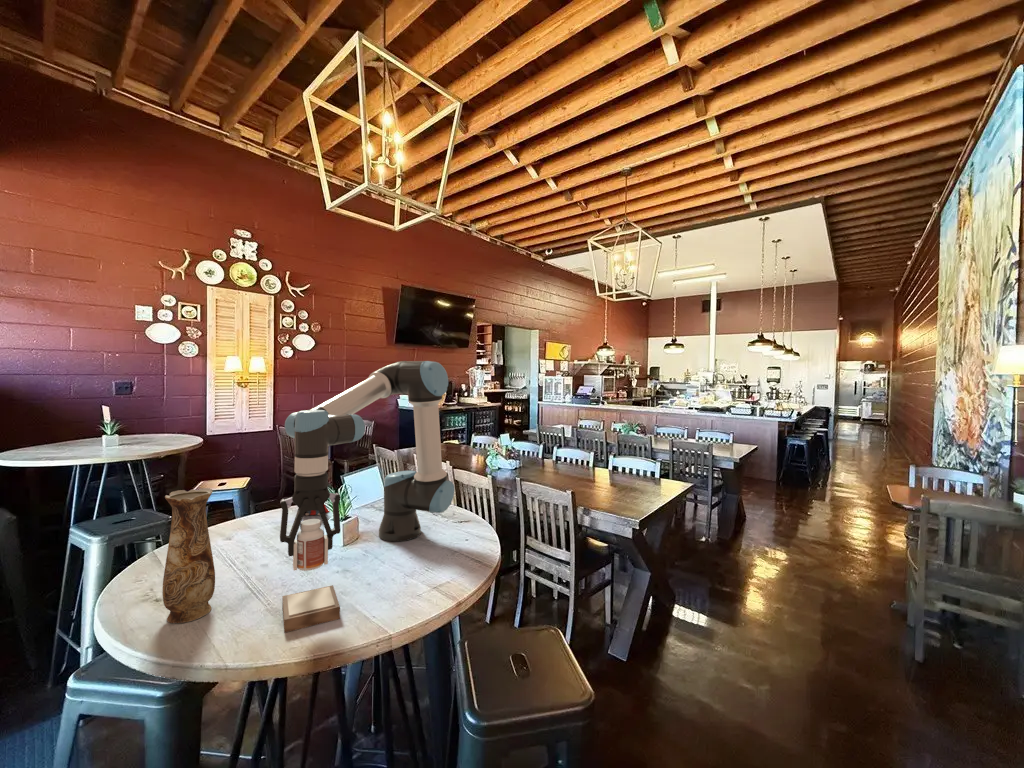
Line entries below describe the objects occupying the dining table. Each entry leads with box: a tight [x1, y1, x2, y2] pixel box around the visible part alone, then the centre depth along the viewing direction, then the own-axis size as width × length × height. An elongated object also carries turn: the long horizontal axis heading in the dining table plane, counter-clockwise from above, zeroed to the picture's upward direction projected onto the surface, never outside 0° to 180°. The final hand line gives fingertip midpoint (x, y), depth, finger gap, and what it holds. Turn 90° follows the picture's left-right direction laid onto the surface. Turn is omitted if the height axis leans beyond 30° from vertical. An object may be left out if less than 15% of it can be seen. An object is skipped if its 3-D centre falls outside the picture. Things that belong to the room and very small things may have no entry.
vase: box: [161, 487, 216, 624], centre depth 106 cm, size 10×11×30 cm
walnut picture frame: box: [281, 585, 341, 634], centre depth 108 cm, size 12×12×3 cm
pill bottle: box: [296, 518, 325, 572], centre depth 107 cm, size 6×6×11 cm
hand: (310, 565), depth 107 cm, fingers closed on pill bottle, 6 cm apart
